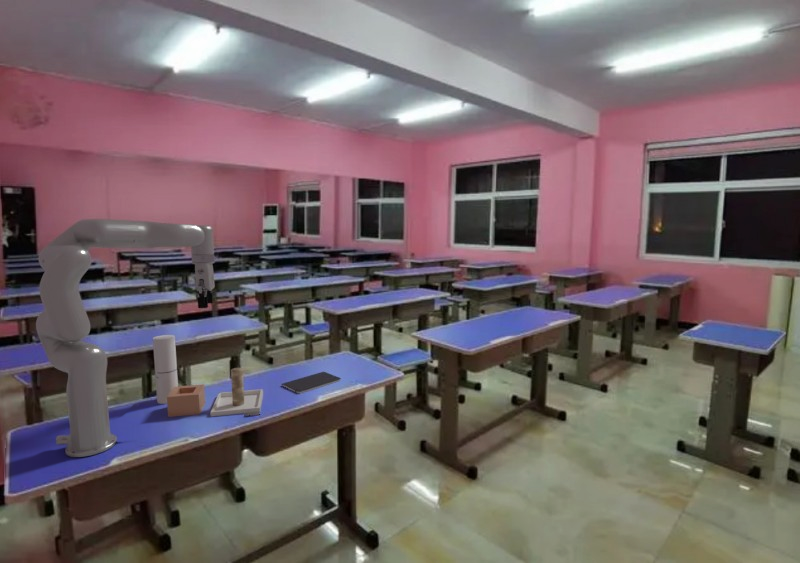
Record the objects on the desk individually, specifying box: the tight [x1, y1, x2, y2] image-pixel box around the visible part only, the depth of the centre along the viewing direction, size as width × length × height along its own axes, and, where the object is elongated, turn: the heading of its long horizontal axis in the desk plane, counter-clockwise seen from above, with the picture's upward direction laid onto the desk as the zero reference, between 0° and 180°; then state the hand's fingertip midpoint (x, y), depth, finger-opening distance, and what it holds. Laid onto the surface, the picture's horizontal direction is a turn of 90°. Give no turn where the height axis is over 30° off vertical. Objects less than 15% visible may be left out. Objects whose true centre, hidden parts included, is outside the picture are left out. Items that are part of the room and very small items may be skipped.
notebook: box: [281, 371, 342, 394], centre depth 184 cm, size 13×2×21 cm
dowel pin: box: [230, 367, 245, 406], centre depth 159 cm, size 4×4×13 cm
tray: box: [210, 388, 264, 417], centre depth 160 cm, size 16×18×2 cm
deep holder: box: [166, 384, 206, 418], centre depth 154 cm, size 10×10×8 cm
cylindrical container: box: [152, 334, 179, 405], centre depth 162 cm, size 7×7×25 cm
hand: (205, 305), depth 161 cm, fingers open, 9 cm apart
